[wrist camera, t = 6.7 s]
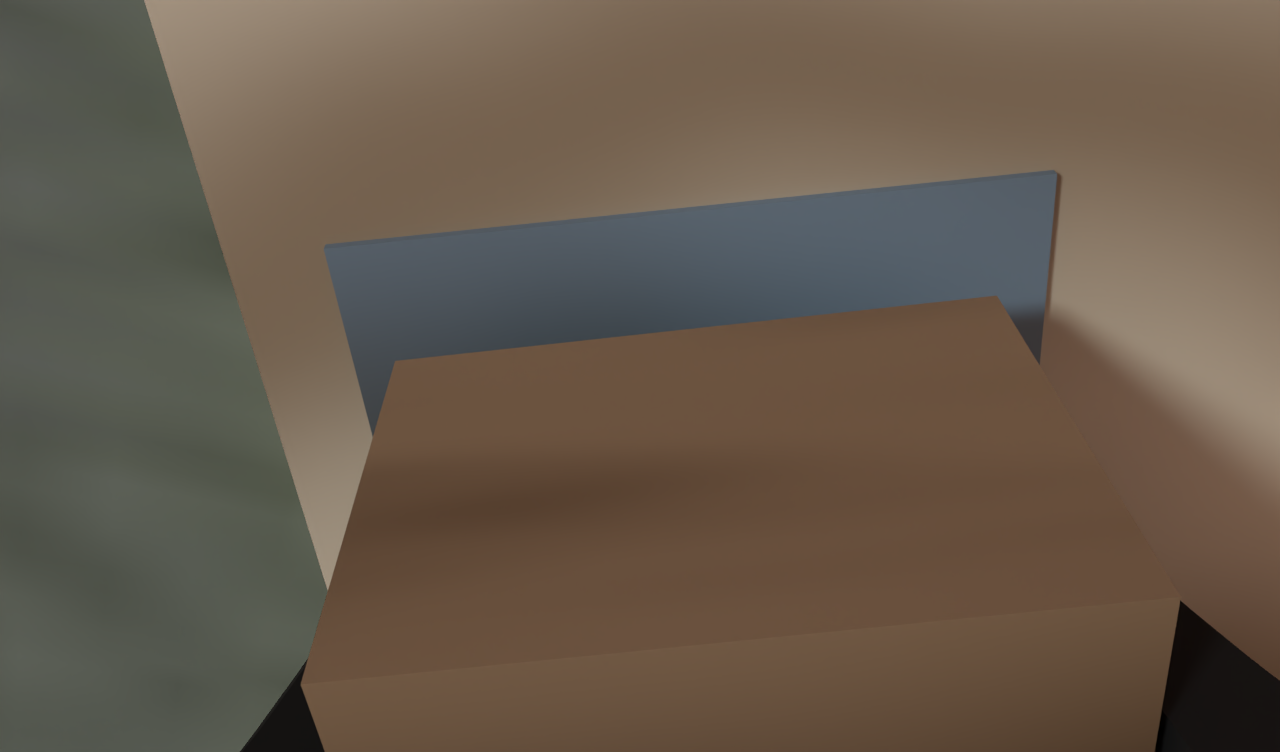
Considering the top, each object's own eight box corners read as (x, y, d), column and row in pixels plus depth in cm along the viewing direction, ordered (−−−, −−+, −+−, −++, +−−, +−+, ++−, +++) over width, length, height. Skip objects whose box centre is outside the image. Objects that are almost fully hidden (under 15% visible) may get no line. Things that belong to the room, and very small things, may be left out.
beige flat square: (1519, 1019, 21) (1562, 1082, 20) (509, 1104, 21) (505, 1170, 21) (2169, -252, 11) (2321, -241, 10) (177, -35, 11) (137, -4, 10)
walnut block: (973, 720, 14) (1098, 1078, 10) (497, 766, 14) (463, 1133, 10) (995, 296, 11) (1180, 597, 7) (395, 361, 11) (300, 683, 8)
